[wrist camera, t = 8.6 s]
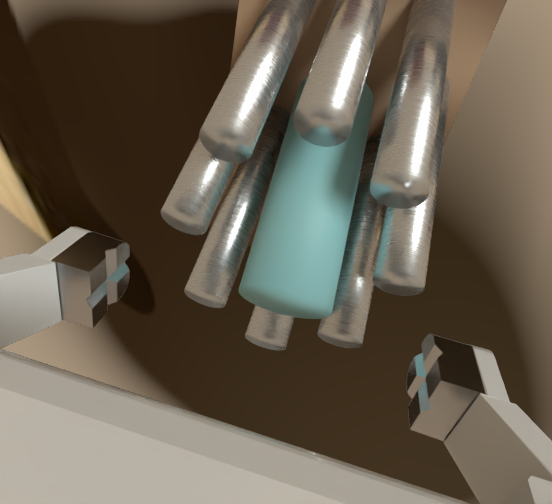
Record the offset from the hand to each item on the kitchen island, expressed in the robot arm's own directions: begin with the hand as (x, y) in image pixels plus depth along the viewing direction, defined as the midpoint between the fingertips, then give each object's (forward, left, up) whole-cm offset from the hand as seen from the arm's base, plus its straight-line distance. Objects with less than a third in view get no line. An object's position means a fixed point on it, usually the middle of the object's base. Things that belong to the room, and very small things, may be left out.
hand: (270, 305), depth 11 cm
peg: (+3, -1, -10) cm, 10 cm away
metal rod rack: (+2, -1, -14) cm, 14 cm away
